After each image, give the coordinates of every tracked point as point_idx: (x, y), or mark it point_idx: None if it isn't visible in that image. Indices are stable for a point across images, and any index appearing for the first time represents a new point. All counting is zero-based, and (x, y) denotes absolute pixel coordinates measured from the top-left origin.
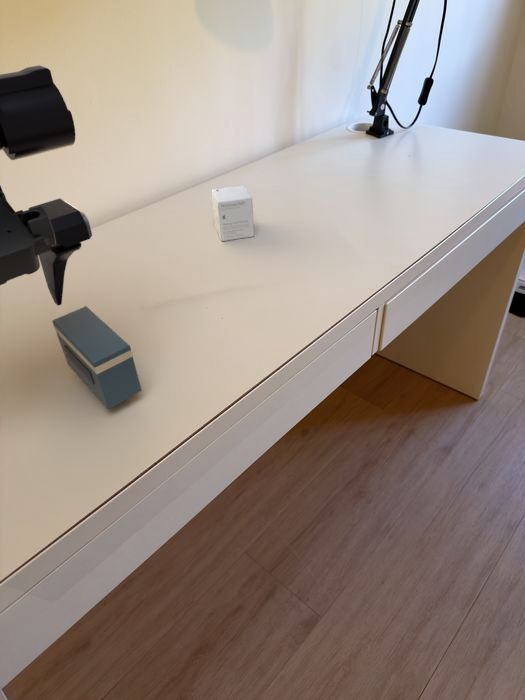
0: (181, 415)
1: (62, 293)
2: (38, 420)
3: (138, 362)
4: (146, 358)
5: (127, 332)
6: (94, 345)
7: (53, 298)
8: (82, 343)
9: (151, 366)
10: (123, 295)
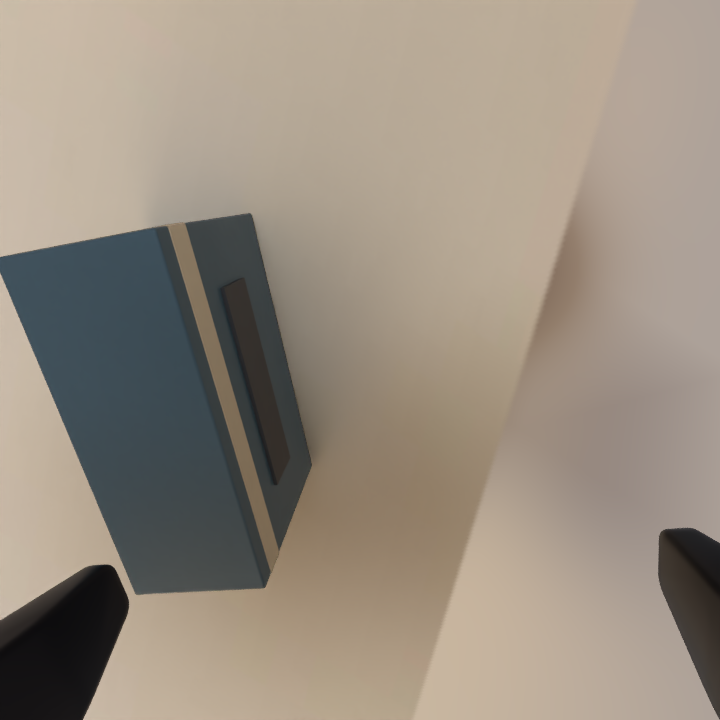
0: (50, 46)
1: (4, 619)
2: (446, 289)
3: None
4: None
5: None
6: (134, 349)
7: (106, 626)
8: (179, 391)
9: None
10: None
